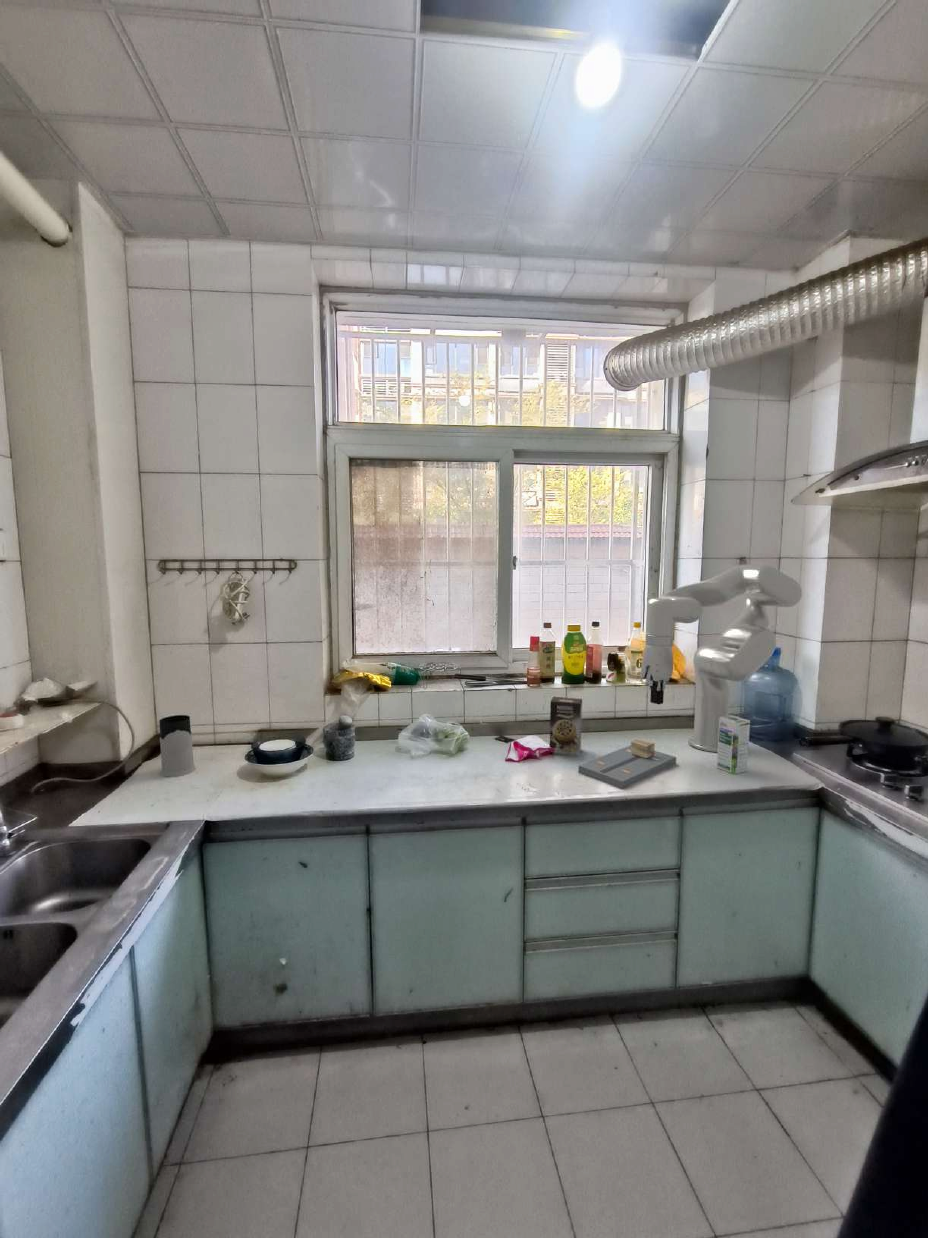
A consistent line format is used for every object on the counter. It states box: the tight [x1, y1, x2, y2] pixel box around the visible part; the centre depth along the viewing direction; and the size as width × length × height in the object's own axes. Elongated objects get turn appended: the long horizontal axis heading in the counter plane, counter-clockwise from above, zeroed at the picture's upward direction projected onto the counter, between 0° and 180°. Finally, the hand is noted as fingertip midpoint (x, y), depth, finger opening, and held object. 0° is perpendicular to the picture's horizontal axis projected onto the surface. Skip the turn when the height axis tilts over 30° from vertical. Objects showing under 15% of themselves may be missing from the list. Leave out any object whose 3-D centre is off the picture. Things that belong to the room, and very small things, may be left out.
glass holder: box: [159, 714, 196, 778], centre depth 152 cm, size 9×14×15 cm, turn 36°
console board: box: [577, 744, 677, 790], centre depth 150 cm, size 26×14×2 cm, turn 129°
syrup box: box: [716, 714, 751, 775], centre depth 148 cm, size 6×6×14 cm
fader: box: [630, 738, 656, 758], centre depth 154 cm, size 4×5×4 cm
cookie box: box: [549, 696, 583, 757], centre depth 163 cm, size 9×6×16 cm
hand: (656, 703), depth 157 cm, fingers closed
